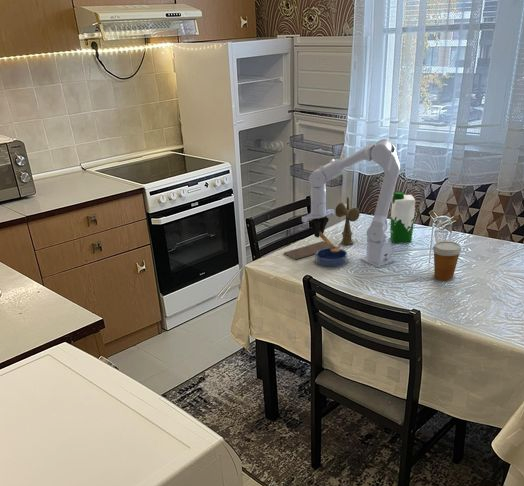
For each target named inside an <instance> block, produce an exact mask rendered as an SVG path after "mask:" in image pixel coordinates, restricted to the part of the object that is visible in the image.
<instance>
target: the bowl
mask: <svg viewBox="0 0 524 486" xmlns="http://www.w3.org/2000/svg"><path fill="white" fill-rule="evenodd" d="M314 256H315V257H314V258H315V259H314V260H315V264H317V265H318V266H320V267H324V268H337V267H341V266H344V265H345V264H347V262H348V252H347V251H346V250H345V249H342V248H340V251H339V252H331V248H326V249H321V250H319V251H317V252H316V253H315V255H314Z"/></svg>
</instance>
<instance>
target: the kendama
mask: <svg viewBox="0 0 524 486" xmlns="http://www.w3.org/2000/svg"><path fill="white" fill-rule="evenodd" d="M334 210H335V215H336V217H338V218H343V217H345V221H344V227H343V231H342V232H341V235H342V239H341V241H340V244H341V245H342V246H350V245H351V246H352V245H353V244H354V241H353V239H352V235H353V234H354V233H353V232H352V230H351V223H352V222H353V223H354V222H356V221H358V219H359V218H360V216H361V215H360V214H361V212H360V209H359V207H352V208H350V197H349V196H347V197H346V202H339V203H337V205H336V206H335V209H334ZM350 222H351V223H350Z"/></svg>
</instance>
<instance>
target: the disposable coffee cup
mask: <svg viewBox="0 0 524 486" xmlns="http://www.w3.org/2000/svg"><path fill="white" fill-rule="evenodd" d="M432 250H433V268H434V269H433V271H434V272H433V273H434V278H435V279H436V280H438V281H443V282H446V281H451V280H453V278H454V275H455V271H456V267H457V264H458V260H459V257H460V254H461V252H462V247H461V244H460V243H458V242H456V241H449V240H443V241H438V242H436V243H435V244H434V246H432Z"/></svg>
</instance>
